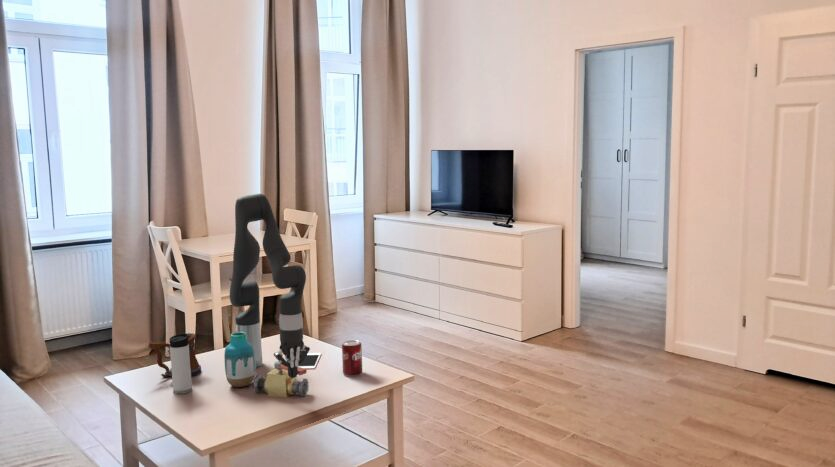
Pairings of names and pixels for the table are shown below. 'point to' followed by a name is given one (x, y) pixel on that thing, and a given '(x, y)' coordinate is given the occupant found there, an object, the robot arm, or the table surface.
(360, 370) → the soda can
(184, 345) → the travel mug
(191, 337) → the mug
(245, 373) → the vase
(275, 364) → the lever
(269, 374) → the valve pipe
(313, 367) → the cell phone
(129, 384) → the table surface
